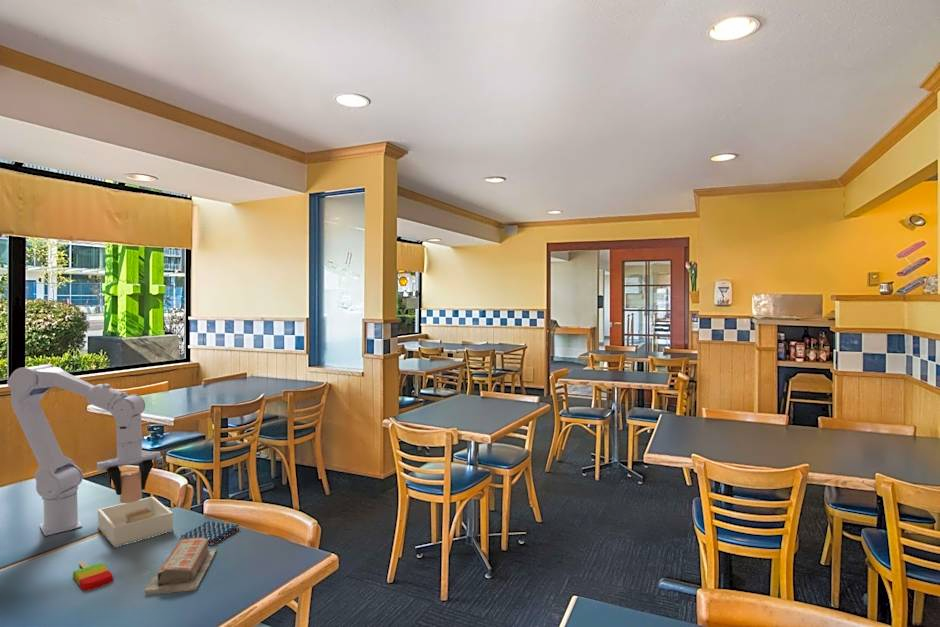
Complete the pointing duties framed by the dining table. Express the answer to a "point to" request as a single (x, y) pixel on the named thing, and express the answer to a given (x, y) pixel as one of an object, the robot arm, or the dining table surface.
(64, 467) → the robot arm
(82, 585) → the popsicle
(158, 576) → the packaged product
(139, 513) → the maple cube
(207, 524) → the woven mat
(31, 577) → the dining table surface
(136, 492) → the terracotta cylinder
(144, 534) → the tote
